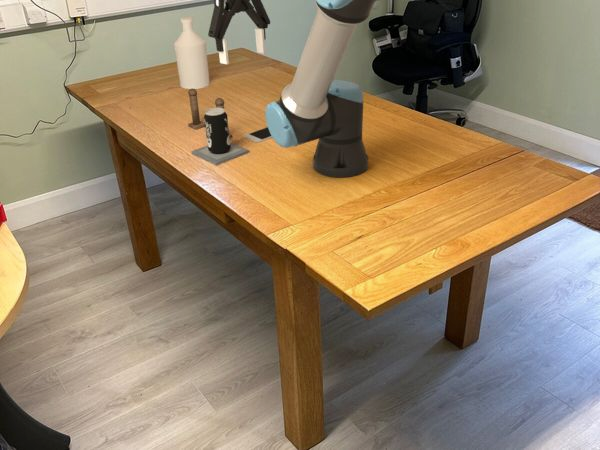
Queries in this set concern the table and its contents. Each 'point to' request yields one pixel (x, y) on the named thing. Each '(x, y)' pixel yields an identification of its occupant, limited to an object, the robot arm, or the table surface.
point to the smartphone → (259, 135)
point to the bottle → (191, 57)
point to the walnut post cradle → (195, 110)
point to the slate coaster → (220, 158)
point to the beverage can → (217, 130)
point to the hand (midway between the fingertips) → (243, 58)
